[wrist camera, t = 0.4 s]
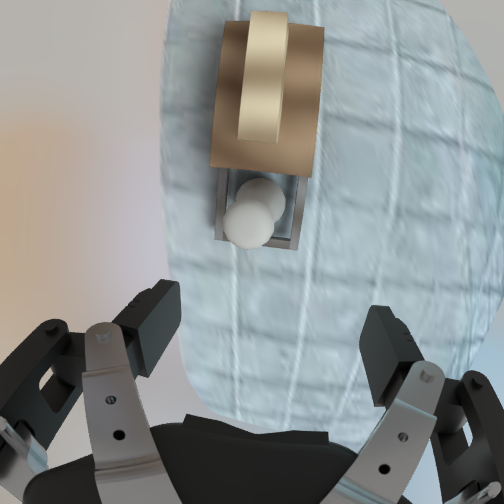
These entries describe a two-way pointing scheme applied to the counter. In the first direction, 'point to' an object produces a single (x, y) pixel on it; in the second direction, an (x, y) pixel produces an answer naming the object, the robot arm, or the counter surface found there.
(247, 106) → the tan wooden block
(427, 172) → the counter surface
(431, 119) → the counter surface
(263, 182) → the salt shaker
